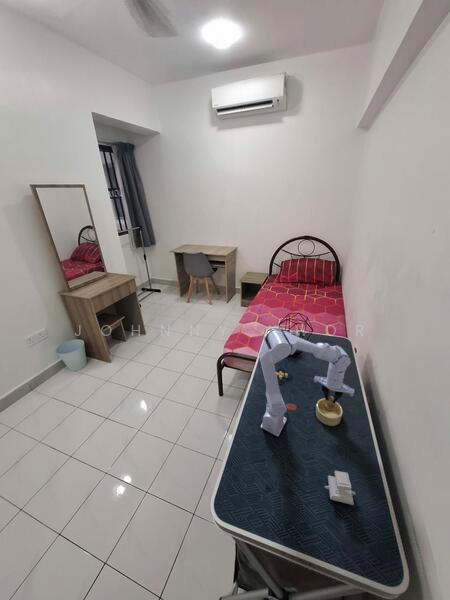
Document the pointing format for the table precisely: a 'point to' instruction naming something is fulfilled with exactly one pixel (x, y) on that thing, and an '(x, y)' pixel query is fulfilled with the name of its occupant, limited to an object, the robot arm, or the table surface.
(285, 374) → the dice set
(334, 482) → the stamp
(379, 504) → the table surface
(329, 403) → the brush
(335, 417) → the yellow round bowl
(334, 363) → the robot arm
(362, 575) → the table surface
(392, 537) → the table surface
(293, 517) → the table surface
